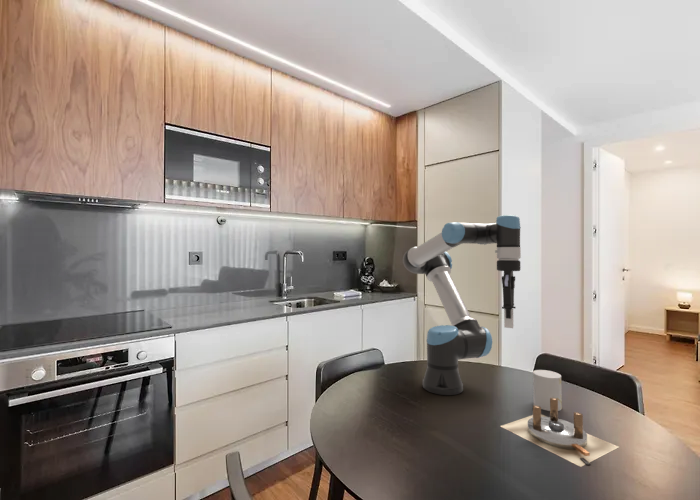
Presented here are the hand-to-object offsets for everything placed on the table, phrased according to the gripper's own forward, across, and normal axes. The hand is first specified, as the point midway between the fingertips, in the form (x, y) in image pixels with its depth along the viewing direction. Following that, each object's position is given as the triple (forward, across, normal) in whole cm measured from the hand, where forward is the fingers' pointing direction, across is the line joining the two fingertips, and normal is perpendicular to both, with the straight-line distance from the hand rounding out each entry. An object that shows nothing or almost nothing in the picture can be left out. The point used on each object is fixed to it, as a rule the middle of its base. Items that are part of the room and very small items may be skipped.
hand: (508, 327), depth 119 cm
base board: (+26, +20, +14) cm, 36 cm away
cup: (+27, -2, +11) cm, 29 cm away
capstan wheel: (+25, +21, +15) cm, 36 cm away
